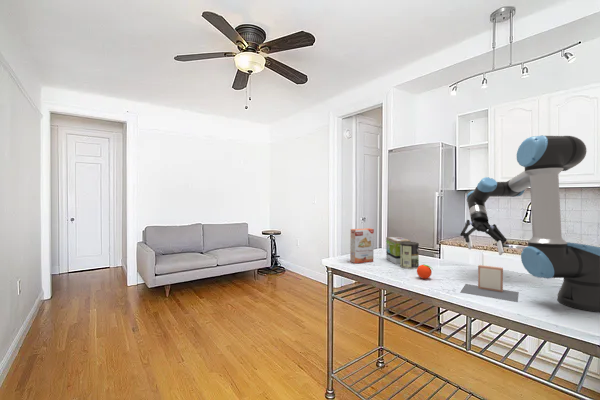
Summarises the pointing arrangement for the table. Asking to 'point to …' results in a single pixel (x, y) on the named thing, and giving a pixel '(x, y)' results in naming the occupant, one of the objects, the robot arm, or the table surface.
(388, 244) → the tea box
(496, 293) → the mat
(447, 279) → the table surface
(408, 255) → the coffee can
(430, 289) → the table surface
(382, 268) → the table surface
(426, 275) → the clementine
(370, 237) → the cracker box
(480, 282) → the tile
